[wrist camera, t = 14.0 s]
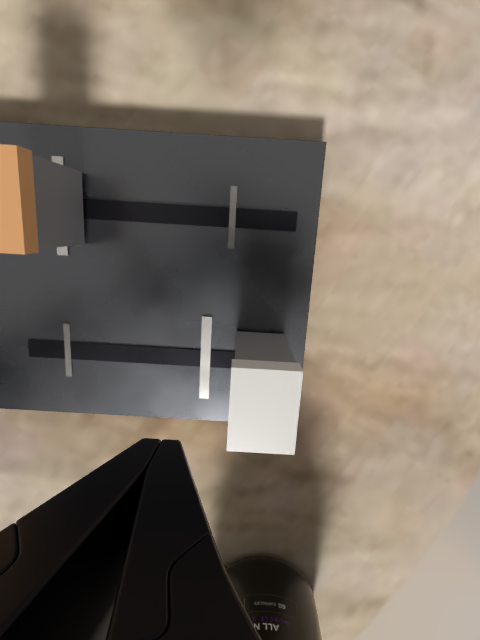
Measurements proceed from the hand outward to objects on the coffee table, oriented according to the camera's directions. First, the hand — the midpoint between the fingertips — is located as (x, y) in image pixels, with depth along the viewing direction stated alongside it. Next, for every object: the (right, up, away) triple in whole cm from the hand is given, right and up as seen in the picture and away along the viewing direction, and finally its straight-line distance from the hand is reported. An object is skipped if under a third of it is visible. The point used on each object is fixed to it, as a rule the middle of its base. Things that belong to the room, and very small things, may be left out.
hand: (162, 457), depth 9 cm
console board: (-4, +5, +11) cm, 13 cm away
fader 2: (+3, +1, +11) cm, 11 cm away
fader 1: (-7, +8, +9) cm, 14 cm away
